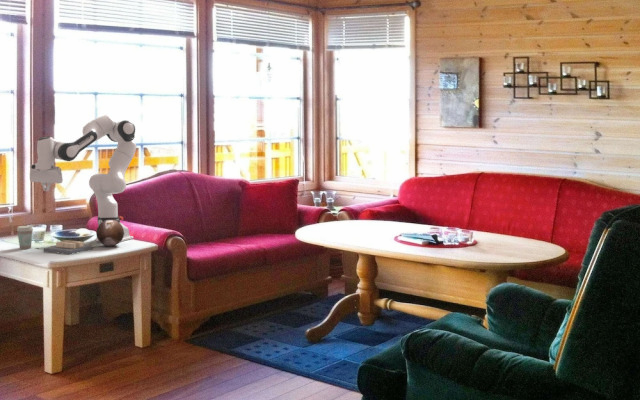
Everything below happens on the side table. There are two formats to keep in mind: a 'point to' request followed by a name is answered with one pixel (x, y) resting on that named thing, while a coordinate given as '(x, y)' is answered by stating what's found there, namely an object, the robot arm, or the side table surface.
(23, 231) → the coffee cup
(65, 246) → the plaque
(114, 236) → the wooden sphere
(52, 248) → the board
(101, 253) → the side table surface
